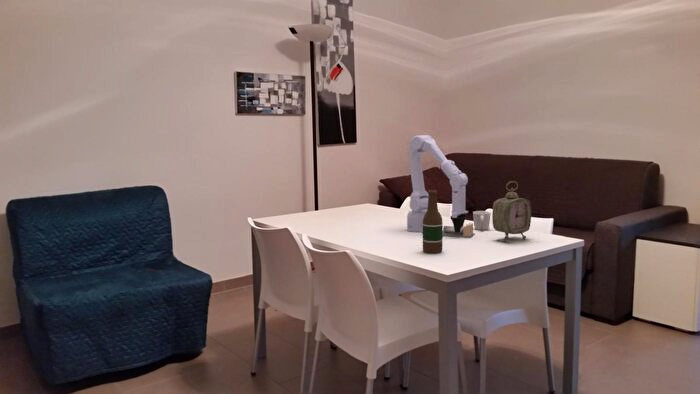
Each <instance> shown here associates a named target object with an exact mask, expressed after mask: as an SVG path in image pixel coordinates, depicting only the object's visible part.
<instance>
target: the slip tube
mask: <svg viewBox="0 0 700 394" xmlns="http://www.w3.org/2000/svg"><path fill="white" fill-rule="evenodd" d="M463 229H464V226H463V227H461V230H460V232H455V230H454V225H443V227H442V231H443V232H444V233H458V234H463Z"/></svg>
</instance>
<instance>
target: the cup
mask: <svg viewBox="0 0 700 394" xmlns="http://www.w3.org/2000/svg"><path fill="white" fill-rule="evenodd" d="M472 215H473V217H472V218H473V228H474V229H475V230H478V231H486V230H488V229H489V228H490V223H491V216H492V213H491V212H490V211H488V210H487V211H485V210H476V211H472Z"/></svg>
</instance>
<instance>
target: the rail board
mask: <svg viewBox="0 0 700 394" xmlns="http://www.w3.org/2000/svg"><path fill="white" fill-rule="evenodd" d="M463 227H464V229H463V234H458V233H444V232H443V230H442V237H449V238H464V239H465V238H466V239H471V238H473V236H475V235H476V234H475V233H474V222H473V223H472V222H471V223H470V222H469V223H468V224H465V225H463Z"/></svg>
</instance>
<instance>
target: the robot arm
mask: <svg viewBox="0 0 700 394" xmlns="http://www.w3.org/2000/svg"><path fill="white" fill-rule="evenodd" d="M425 152H428V153H430V154H431V155H432V156H433V157H434V158H435V160H436V161H437V162H438V163H439V164H440V170H441V171H442V172H443V173H444V175H445V176H446V177H447V178H448V179H449V184H450V186H451V216H450V220H451V222H452V224H453V225H452V226H454V230H455V232H460V230H461V227H464V226H465V225H464V224H465V222H466V221H465V220H466V218H467V217H468V215H467V214H468V213H469V210H466V194H467V193H466V187H467V186H466V185H467V184H468V182H469V178H468V176H467V174H466V173H464V172H462V171H461V170H459V168H458V167H457V165H455V164H456V163H455V161H454V160H451V159H448V158H446V156H445V155H444V153H443V152H442V150H441V149H440V148H439V146H438V145H437V143H436V140H435V139H433V137H432V136H431V135H430V134H424V135H422V134H421V135H417V134H416V135H414V136H413V137H412V138H411V139H410V140H409V148H408V153H407V154H408V162H409V163H408V164H409V170H410V176H411V184H412V185H411V186H412V192H411V194H410V196H409V198H410V201H409V208H410V210H409V211H408V212H407V216H406V227H407V228H406V231H407V232H421V233H423V218H424V215H425V214H426V212H427V209H428V195H429V194H428V191H427V190H426V188H425V182H424V181H425V180H424V172H423V166H422V157H421V156H422V155H423V154H424V153H425Z"/></svg>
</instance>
